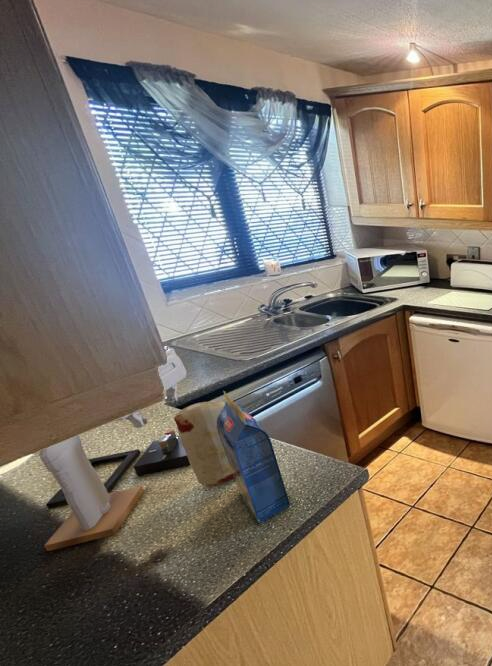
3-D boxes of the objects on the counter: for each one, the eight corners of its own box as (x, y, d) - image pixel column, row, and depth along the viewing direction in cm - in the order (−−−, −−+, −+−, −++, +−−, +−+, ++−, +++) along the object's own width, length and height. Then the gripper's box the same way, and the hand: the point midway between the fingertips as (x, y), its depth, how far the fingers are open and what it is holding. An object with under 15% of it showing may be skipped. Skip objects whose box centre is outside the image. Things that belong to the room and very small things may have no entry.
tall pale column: (94, 498, 82) (47, 411, 74) (119, 491, 84) (76, 406, 76) (71, 536, 73) (15, 443, 65) (100, 527, 75) (49, 435, 67)
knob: (171, 452, 93) (165, 439, 92) (163, 454, 93) (157, 441, 91) (178, 441, 97) (173, 429, 96) (170, 442, 97) (165, 430, 95)
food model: (197, 495, 84) (165, 419, 77) (201, 476, 90) (173, 403, 82) (249, 478, 89) (224, 405, 82) (251, 461, 94) (228, 391, 87)
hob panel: (137, 477, 90) (132, 466, 89) (157, 450, 99) (152, 440, 97) (194, 464, 93) (190, 454, 92) (207, 440, 102) (204, 430, 101)
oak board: (47, 551, 72) (43, 545, 71) (86, 504, 82) (83, 498, 82) (115, 534, 75) (112, 528, 75) (144, 490, 86) (141, 485, 85)
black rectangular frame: (48, 508, 81) (45, 504, 81) (90, 462, 94) (88, 459, 94) (108, 495, 85) (105, 490, 84) (141, 452, 98) (139, 448, 97)
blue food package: (258, 524, 77) (222, 420, 68) (239, 494, 84) (204, 397, 75) (291, 504, 82) (261, 405, 72) (270, 478, 89) (241, 384, 80)
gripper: (157, 344, 96) (176, 391, 101) (77, 385, 77) (105, 441, 82) (183, 342, 96) (201, 390, 101) (110, 383, 77) (136, 439, 82)
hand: (157, 413), depth 92 cm, fingers open, 8 cm apart
